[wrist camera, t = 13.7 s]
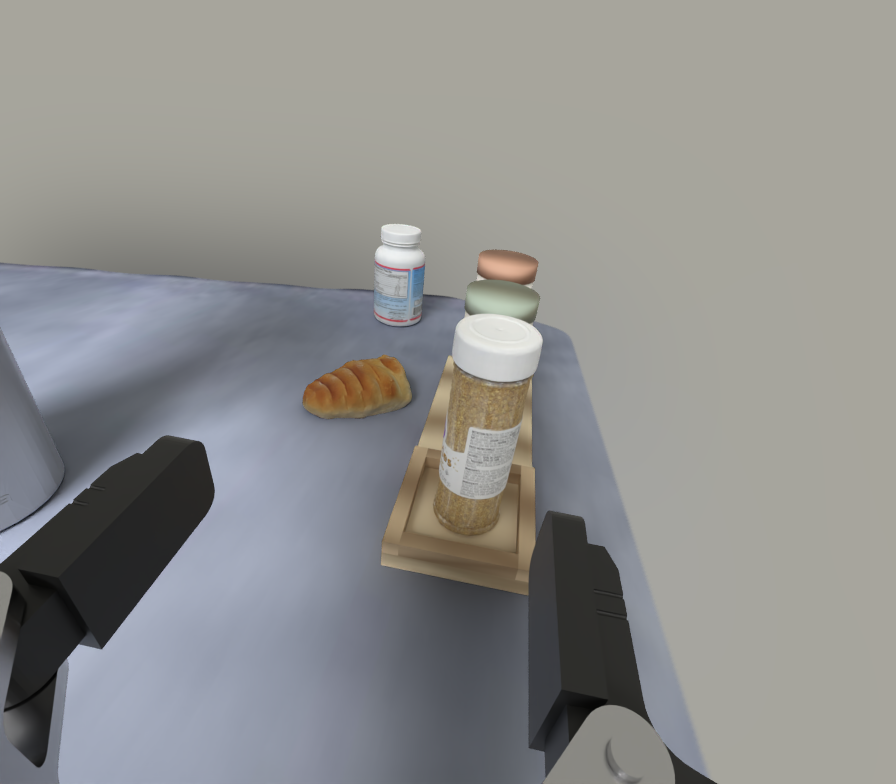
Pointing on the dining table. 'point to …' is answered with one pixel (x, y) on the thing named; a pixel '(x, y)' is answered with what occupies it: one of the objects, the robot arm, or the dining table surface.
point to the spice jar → (483, 418)
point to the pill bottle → (399, 276)
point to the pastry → (359, 389)
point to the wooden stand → (413, 519)
